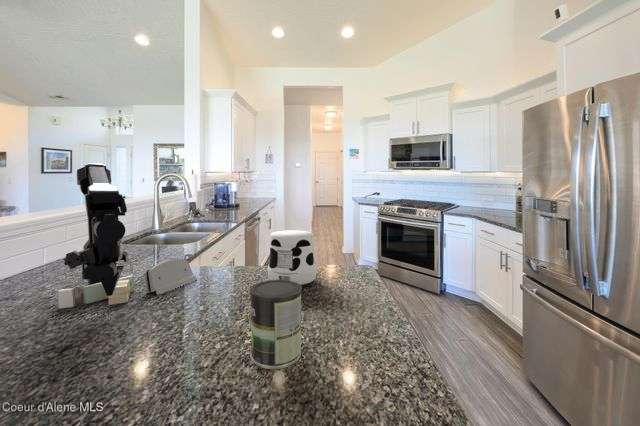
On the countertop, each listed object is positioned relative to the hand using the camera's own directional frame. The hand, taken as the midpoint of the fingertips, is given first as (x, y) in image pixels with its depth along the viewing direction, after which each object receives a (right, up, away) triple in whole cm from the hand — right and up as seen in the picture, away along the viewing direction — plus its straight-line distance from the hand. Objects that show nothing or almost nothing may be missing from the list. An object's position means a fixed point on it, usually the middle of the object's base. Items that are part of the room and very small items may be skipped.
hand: (109, 295), depth 78 cm
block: (-5, -5, +11) cm, 13 cm away
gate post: (-14, -5, +7) cm, 16 cm away
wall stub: (-16, -5, +6) cm, 18 cm away
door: (-9, -4, +13) cm, 16 cm away
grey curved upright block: (+4, -4, +24) cm, 24 cm away
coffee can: (+47, -7, -18) cm, 51 cm away
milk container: (+46, -3, +27) cm, 54 cm away
